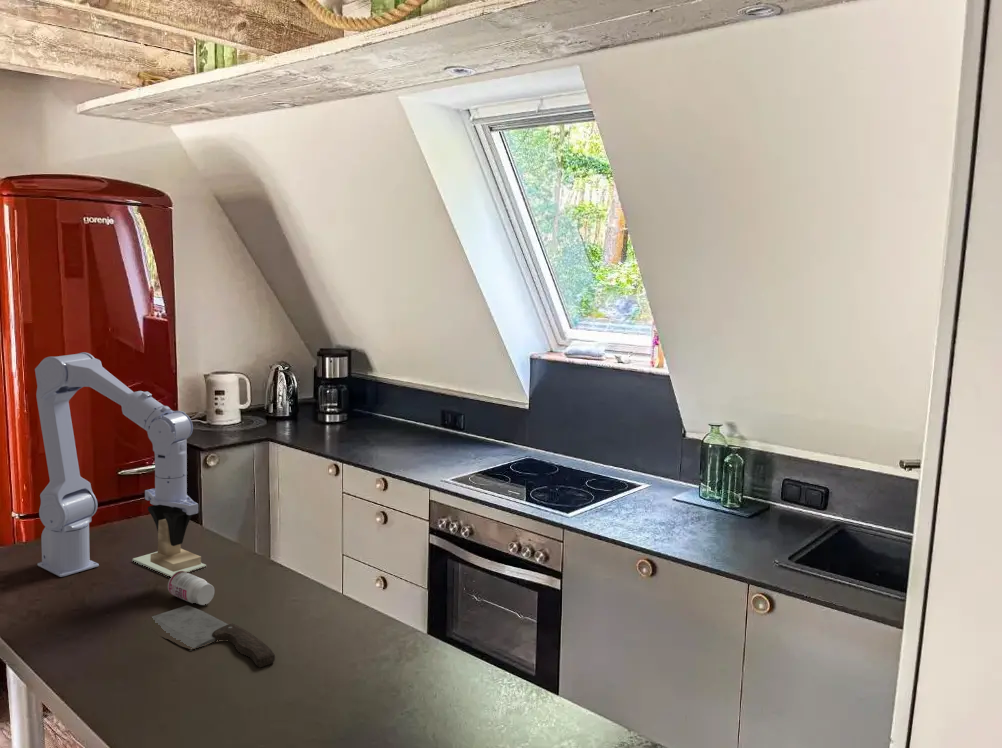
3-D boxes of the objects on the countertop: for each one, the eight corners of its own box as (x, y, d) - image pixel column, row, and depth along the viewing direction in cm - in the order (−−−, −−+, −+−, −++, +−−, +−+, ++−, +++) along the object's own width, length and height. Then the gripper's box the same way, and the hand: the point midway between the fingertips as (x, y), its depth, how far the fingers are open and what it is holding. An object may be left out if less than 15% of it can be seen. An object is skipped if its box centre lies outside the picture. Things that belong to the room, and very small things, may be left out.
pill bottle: (162, 585, 154) (190, 597, 150) (179, 565, 157) (208, 576, 153) (175, 600, 157) (203, 612, 153) (192, 580, 160) (220, 591, 156)
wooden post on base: (150, 561, 159) (151, 521, 158) (177, 554, 164) (179, 515, 163) (173, 571, 155) (174, 530, 154) (201, 564, 160) (202, 524, 159)
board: (132, 561, 173) (132, 558, 173) (166, 551, 179) (166, 548, 179) (172, 578, 165) (172, 575, 165) (206, 567, 171) (206, 564, 171)
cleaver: (287, 659, 136) (287, 647, 135) (237, 681, 128) (237, 669, 128) (186, 609, 153) (185, 598, 153) (136, 626, 145) (136, 614, 145)
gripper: (130, 471, 159) (131, 538, 161) (174, 486, 151) (175, 556, 153) (163, 465, 165) (163, 529, 167) (207, 479, 157) (207, 546, 159)
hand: (171, 542), depth 160 cm, fingers closed on wooden post on base, 3 cm apart
